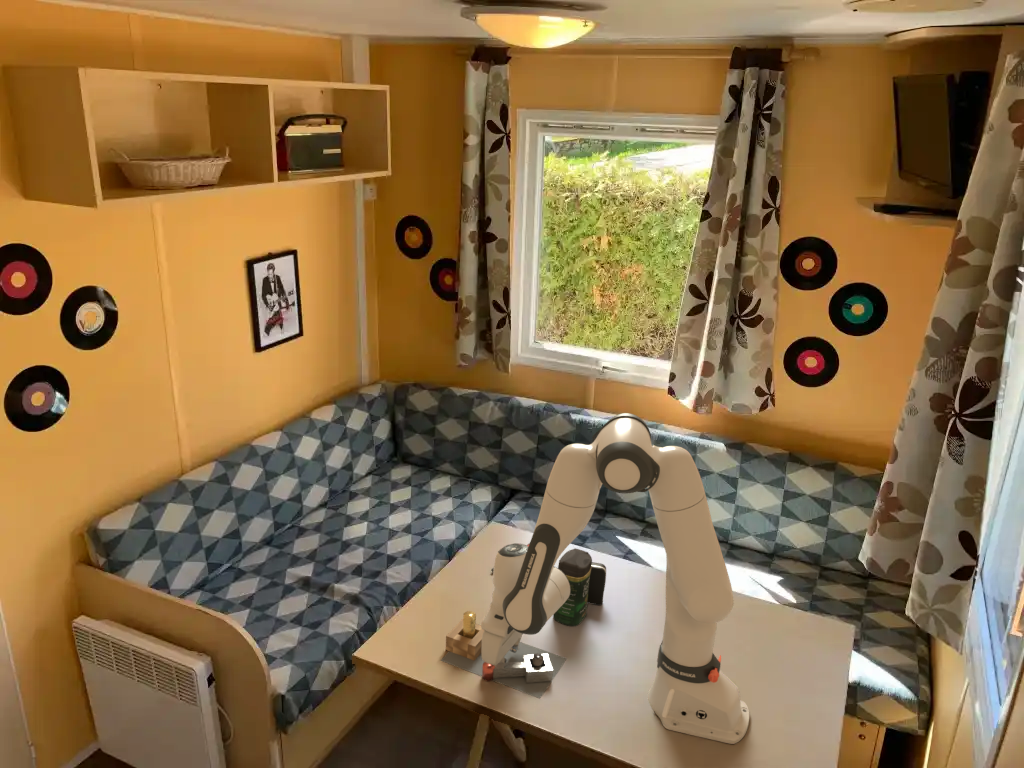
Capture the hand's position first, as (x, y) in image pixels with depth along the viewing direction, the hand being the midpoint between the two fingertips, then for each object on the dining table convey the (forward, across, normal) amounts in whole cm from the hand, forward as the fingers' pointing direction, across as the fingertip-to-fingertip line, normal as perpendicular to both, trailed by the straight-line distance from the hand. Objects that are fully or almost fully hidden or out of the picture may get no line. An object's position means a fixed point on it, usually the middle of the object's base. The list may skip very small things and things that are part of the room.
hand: (507, 658), depth 188 cm
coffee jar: (+2, -26, +5) cm, 26 cm away
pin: (+1, 0, -11) cm, 11 cm away
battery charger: (+2, -36, +7) cm, 37 cm away
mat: (+2, -1, -1) cm, 2 cm away
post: (+1, 0, +8) cm, 8 cm away
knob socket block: (+1, +3, +4) cm, 5 cm away
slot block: (+1, 0, -11) cm, 11 cm away
